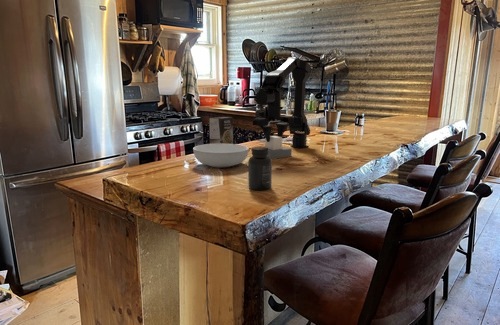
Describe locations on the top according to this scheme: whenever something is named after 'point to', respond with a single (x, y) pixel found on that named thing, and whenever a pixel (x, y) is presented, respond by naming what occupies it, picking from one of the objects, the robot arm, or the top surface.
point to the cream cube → (274, 143)
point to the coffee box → (221, 130)
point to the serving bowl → (220, 154)
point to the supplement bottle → (259, 169)
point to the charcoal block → (279, 153)
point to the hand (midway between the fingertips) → (273, 141)
